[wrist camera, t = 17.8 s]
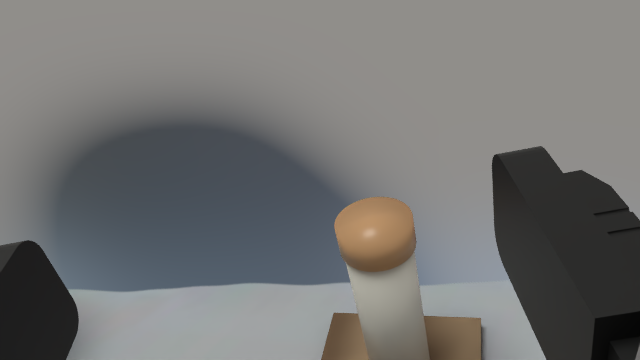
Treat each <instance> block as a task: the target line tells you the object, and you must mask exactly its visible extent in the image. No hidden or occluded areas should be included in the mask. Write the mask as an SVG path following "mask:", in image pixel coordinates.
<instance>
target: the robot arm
mask: <svg viewBox="0 0 640 360" xmlns="http://www.w3.org/2000/svg"><path fill="white" fill-rule="evenodd" d="M492 178H493V203H494V227H495V236H496V242H497V246H498V251H499V254H500V257H501V260H502V263H503V265H504V268H505V270H506V272H507V274H508V276H509V279H510V281H511V283H512V285H513V287H514V290H515V292H516V294H517V296H518V298H519V301H520V303H521V305H522V307H523V309H524V311H525V314H526V316H527V318H528V320H529V322H530V325H531V327H532V329H533V331H534V333H535V335H536V338H537V340H538V342H539V344H540V346H541V349H542V351H543V353H544V355H545V357H546V360H640V220H639V219H638V218H637V217H636V216H635V214H634V213H633V212H630V211H629V207H628V206H627V205H626V204H625V202H624V201H623V200H622V199H621V198H620V197H619V195H618V194H617V193H616V192H615V191H614V189H613V188H612V187H611V186H610V185H608V184H606V183H604V182H602V181H601V180H599V179H597V178H595V177H593V176H592V175H590V174H588V173H586V172H584V171H582V170H579V171H574V172H568V173H562V171H561V170H560V168H559V167H558V166H557V164H556V163H555V162H554V160H553V159H552V158H551V156H550V155H549V154H548V152H547V151H546V150H545V149H544V148H543V147H541V146H539V147H533V148H528V149H523V150H518V151H512V152H507V153H502V154H496V155H494V157H493V160H492ZM78 321H79V319H78V311H77V307H76V304H75V302H74V300H73V298H72V296H71V295H70V293H69V292H68V290H67V288H66V287H65V285H64V284H63V282H62V280H61V279H60V277H59V276H58V274H57V272H56V271H55V269H54V268H53V266H52V264H51V263H50V261H49V259H48V258H47V256H46V255H45V253H44V251H43V250H42V249H41V247H40V246H39V245H37V243H35V242H33V241H29V240H28V241H22V242H17V243H11V244H6V245H1V246H0V360H66V358H67V356H68V353H69V351H70V349H71V346H72V344H73V342H74V339H75V337H76V334H77V331H78Z"/></svg>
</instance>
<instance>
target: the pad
mask: <svg viewBox="0 0 640 360" xmlns="http://www.w3.org/2000/svg"><path fill="white" fill-rule="evenodd" d="M424 322H425V329H426V336H427V343H428V350H429V357H430V360H481V318H465V317H437V316H424ZM321 360H369V358H368V354H367V350H366V345H365V341H364V337H363V333H362V328H361V324H360V320H359V316H358V314H354V313H334V314H333V318H332V321H331V325H330V329H329V332H328V336H327V340H326V344H325V347H324V351H323V355H322V359H321Z"/></svg>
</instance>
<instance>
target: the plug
mask: <svg viewBox="0 0 640 360" xmlns="http://www.w3.org/2000/svg"><path fill="white" fill-rule="evenodd" d="M335 232H336V236H337V240H338V244H339V249H340V253H341V256H342V258H343V260H344V261H345V262H346V264H347V268H348V273H349V277H350V282H351V286H352V290H353V294H354V299H355V303H356V307H357V311H358V316H359V320H360V324H361V328H362V333H363V337H364V341H365V345H366V350H367V354H368V358H369V360H430V357H429V350H428V343H427V336H426V329H425V322H424V315H423V308H422V301H421V294H420V287H419V280H418V273H417V266H416V259H415V252H414V250H415V248H416V237H415V230H414V222H413V215H412V212H411V210H410V208H409V207H408V206H407V205H406V204H405V203H403V202H401V201H399V200H397V199H394V198H389V197H372V198H366V199H362V200H359V201H357V202H354V203H352V204H350V205H349V206H347V207H346V208H345V209H343V210H342V211H341V212H340V214H339V215H338V216H337V218H336V220H335Z"/></svg>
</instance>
